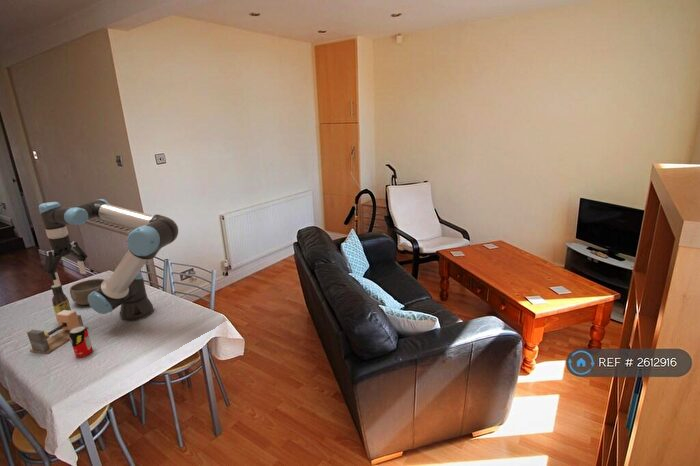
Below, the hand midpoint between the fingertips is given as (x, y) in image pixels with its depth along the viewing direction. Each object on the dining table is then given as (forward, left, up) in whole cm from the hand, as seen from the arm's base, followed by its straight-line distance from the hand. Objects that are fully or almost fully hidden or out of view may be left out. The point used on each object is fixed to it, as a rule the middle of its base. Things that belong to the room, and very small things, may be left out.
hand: (71, 279), depth 172 cm
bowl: (+17, -21, -25) cm, 37 cm away
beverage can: (-21, +20, -25) cm, 38 cm away
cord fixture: (0, +13, -24) cm, 27 cm away
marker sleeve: (0, +7, -22) cm, 23 cm away
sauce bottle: (+11, 0, -25) cm, 27 cm away
